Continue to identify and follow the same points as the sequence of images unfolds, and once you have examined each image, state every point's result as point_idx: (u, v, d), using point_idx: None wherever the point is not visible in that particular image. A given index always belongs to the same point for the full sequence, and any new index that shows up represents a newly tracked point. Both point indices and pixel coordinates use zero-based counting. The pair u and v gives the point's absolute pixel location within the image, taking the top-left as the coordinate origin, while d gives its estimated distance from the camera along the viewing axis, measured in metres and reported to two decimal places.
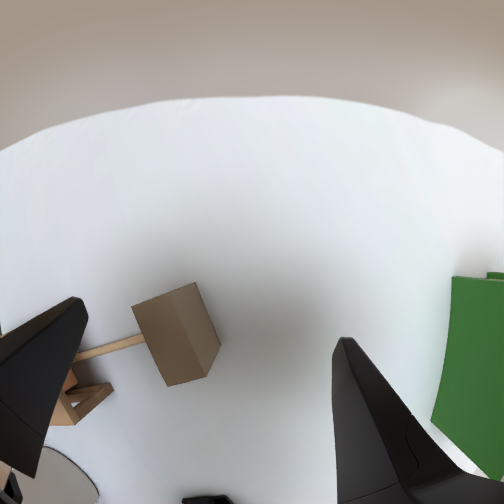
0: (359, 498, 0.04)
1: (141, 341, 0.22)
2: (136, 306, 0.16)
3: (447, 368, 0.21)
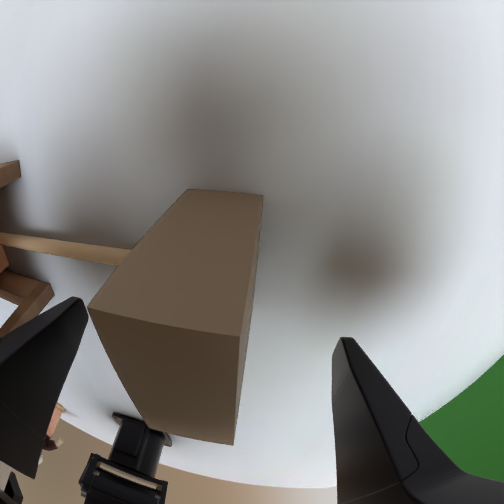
0: (359, 498, 0.04)
1: (109, 263, 0.11)
2: (104, 315, 0.04)
3: (442, 414, 0.18)
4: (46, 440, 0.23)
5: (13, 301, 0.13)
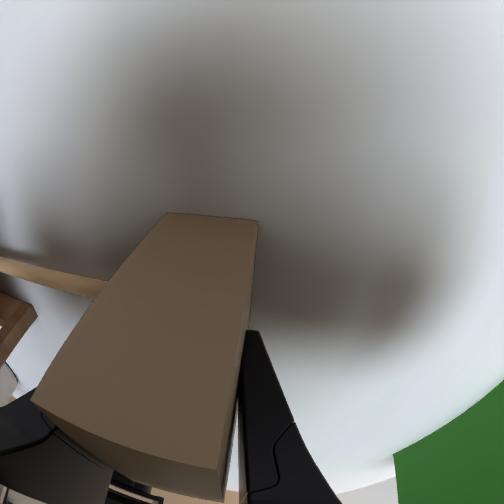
0: (242, 501, 0.04)
1: None
2: (50, 413, 0.03)
3: (446, 432, 0.17)
4: None
5: None
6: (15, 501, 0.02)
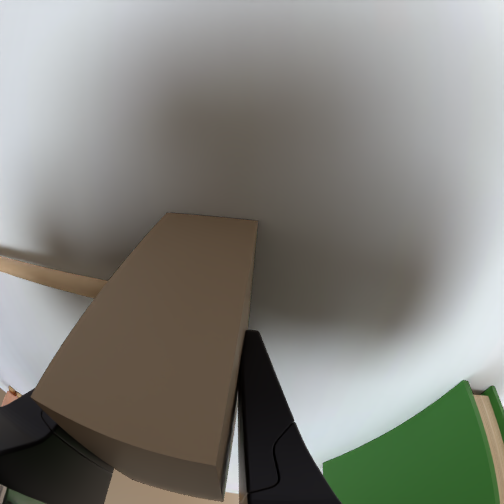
0: (242, 502, 0.04)
1: (84, 295, 0.09)
2: (50, 409, 0.03)
3: (374, 448, 0.17)
4: None
5: None
6: (15, 501, 0.02)
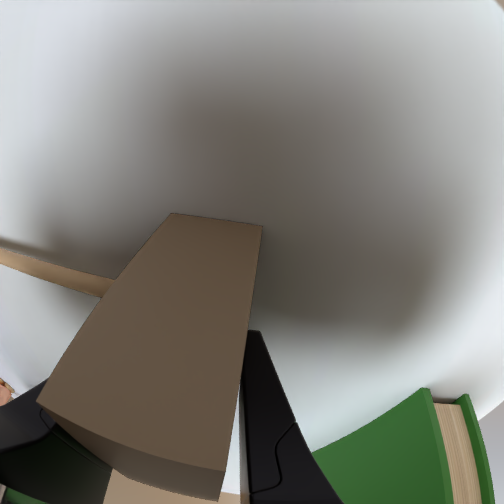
0: (243, 502, 0.04)
1: (83, 291, 0.09)
2: (56, 414, 0.03)
3: (330, 452, 0.17)
4: None
5: None
6: (14, 500, 0.02)
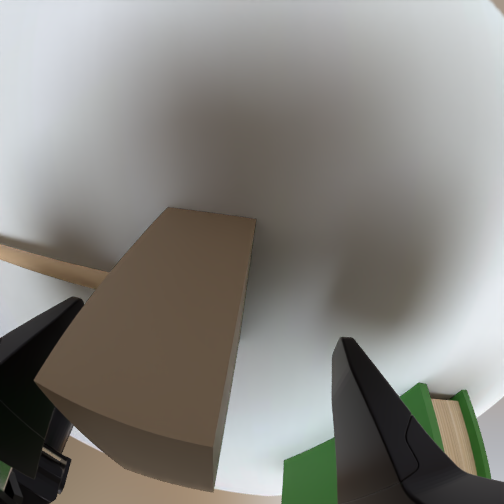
0: (359, 498, 0.04)
1: (82, 285, 0.09)
2: (53, 393, 0.03)
3: (328, 448, 0.17)
4: None
5: None
6: None
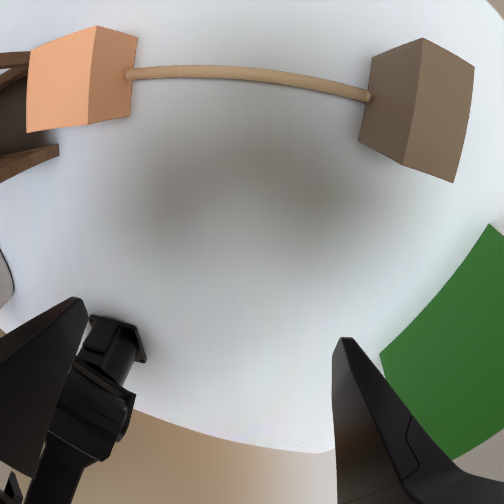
0: (359, 498, 0.04)
1: (313, 86, 0.13)
2: (430, 43, 0.06)
3: (430, 311, 0.21)
4: None
5: None
6: None
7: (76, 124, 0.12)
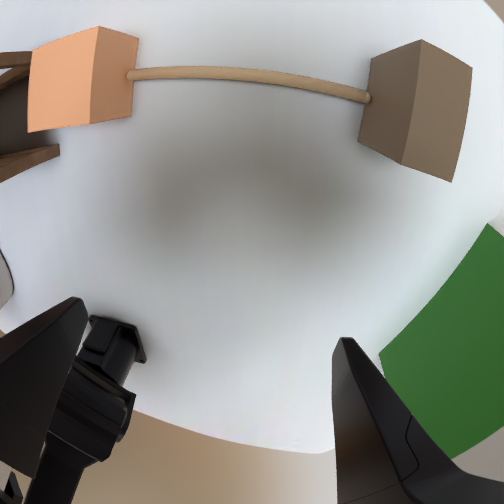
0: (359, 498, 0.04)
1: (313, 87, 0.13)
2: (428, 45, 0.07)
3: (429, 310, 0.21)
4: None
5: None
6: None
7: (78, 124, 0.12)
